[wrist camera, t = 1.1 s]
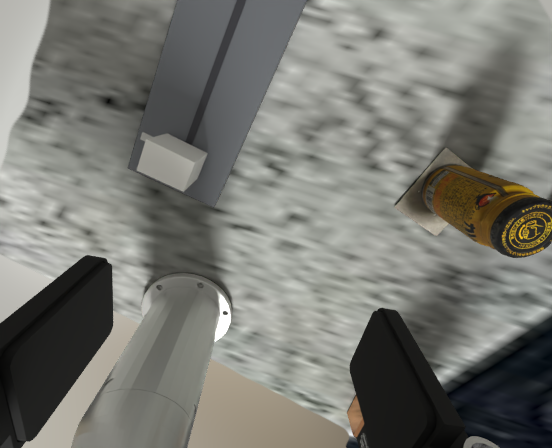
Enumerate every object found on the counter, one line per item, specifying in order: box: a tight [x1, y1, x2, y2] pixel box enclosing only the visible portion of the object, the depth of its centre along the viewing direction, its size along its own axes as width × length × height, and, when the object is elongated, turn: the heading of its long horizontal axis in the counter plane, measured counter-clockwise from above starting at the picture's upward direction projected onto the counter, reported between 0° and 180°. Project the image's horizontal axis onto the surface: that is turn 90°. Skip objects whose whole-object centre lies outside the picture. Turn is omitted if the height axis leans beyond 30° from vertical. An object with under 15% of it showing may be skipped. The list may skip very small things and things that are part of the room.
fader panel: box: [128, 0, 307, 207], centre depth 28 cm, size 23×10×2 cm, turn 153°
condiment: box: [394, 148, 552, 258], centre depth 28 cm, size 7×8×12 cm
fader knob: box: [137, 133, 208, 192], centre depth 27 cm, size 3×4×5 cm
